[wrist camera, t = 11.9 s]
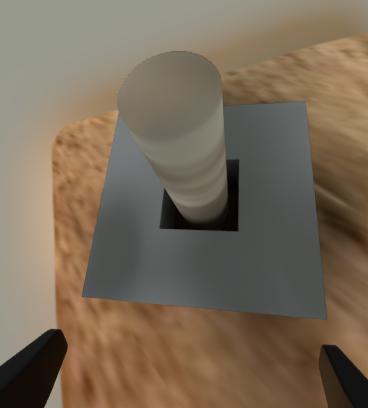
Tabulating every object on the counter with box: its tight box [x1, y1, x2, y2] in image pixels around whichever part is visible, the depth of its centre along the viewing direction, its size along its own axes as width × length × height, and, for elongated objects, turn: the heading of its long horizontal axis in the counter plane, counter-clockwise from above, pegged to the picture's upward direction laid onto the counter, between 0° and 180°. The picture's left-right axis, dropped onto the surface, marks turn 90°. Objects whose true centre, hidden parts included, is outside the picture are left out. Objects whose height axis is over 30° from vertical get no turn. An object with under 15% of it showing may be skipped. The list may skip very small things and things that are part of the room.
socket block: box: [82, 101, 327, 320], centre depth 19 cm, size 14×14×4 cm
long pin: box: [117, 51, 229, 231], centre depth 15 cm, size 4×4×13 cm
